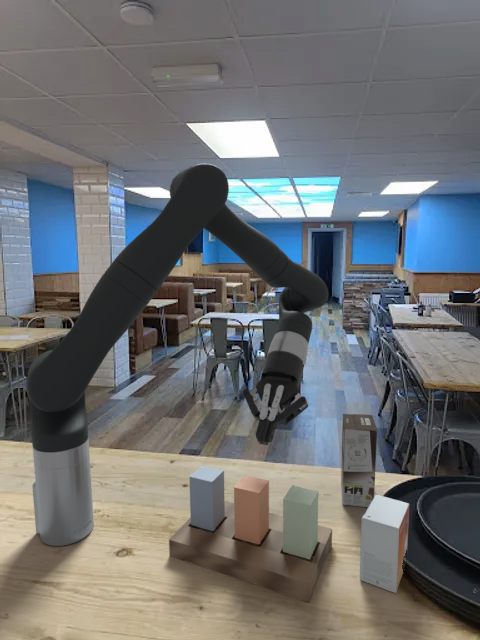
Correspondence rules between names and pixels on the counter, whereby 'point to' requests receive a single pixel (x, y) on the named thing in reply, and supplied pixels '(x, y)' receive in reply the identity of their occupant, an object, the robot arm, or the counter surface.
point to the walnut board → (252, 555)
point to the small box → (384, 542)
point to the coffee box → (358, 459)
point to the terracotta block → (251, 509)
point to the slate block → (207, 497)
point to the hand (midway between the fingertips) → (262, 442)
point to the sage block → (300, 521)
